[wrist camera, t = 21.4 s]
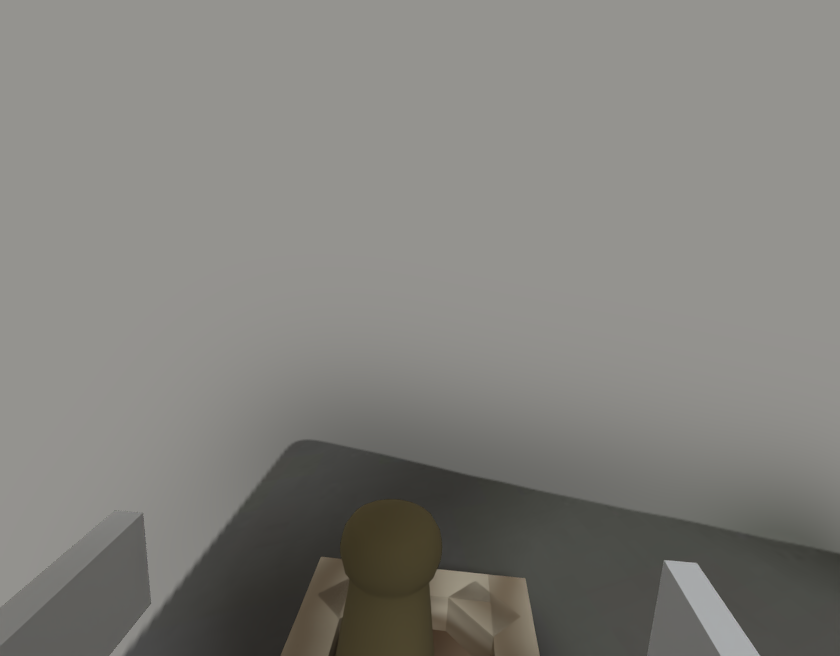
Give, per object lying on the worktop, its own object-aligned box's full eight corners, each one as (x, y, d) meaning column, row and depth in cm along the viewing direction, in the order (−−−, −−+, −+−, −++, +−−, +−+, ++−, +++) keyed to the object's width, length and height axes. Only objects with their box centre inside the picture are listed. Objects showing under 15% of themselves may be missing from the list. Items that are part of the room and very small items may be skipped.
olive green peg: (328, 650, 30) (333, 485, 28) (427, 642, 31) (440, 482, 29) (326, 756, 24) (331, 557, 22) (448, 742, 25) (465, 550, 23)
